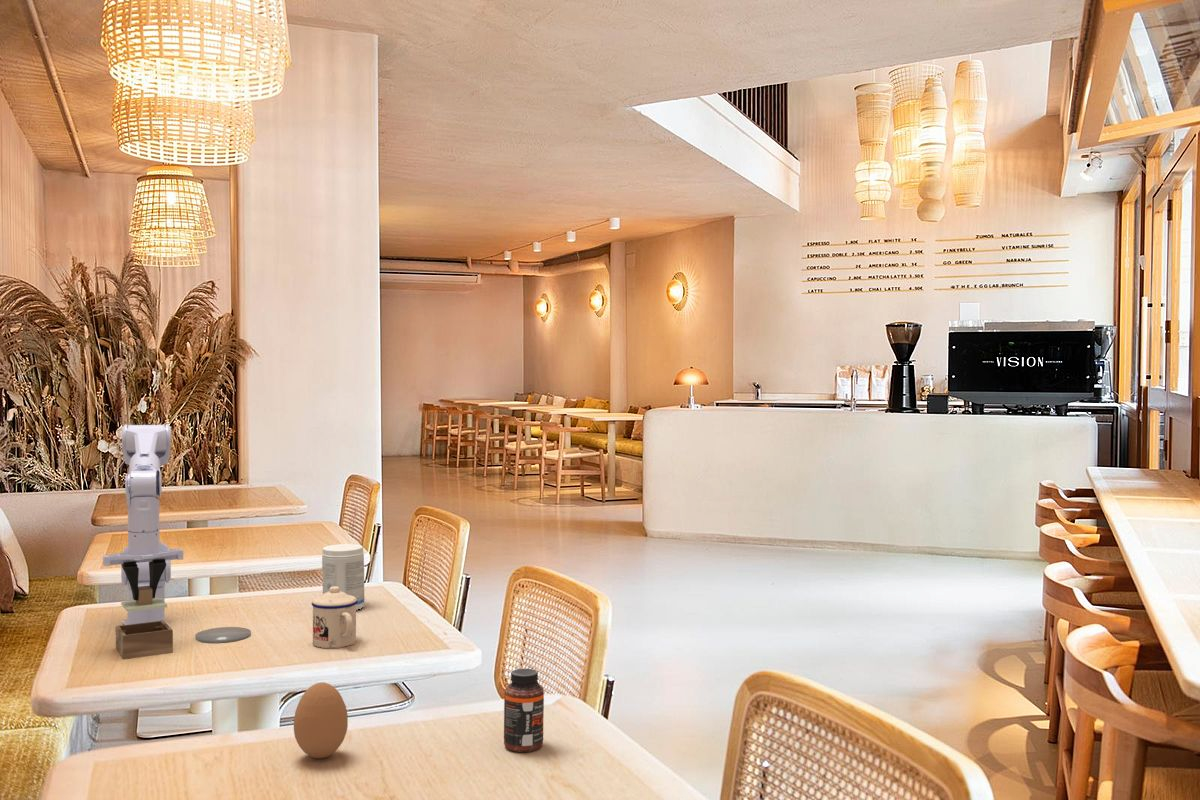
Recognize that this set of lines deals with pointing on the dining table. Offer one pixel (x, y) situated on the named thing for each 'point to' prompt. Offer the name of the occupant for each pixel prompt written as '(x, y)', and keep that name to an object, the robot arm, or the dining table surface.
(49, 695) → the dining table surface
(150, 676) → the dining table surface
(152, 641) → the brown wooden open box
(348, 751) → the dining table surface
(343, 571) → the supplement tub
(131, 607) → the lid
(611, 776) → the dining table surface
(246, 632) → the coaster
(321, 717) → the egg
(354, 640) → the teacup with lid
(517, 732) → the supplement bottle
